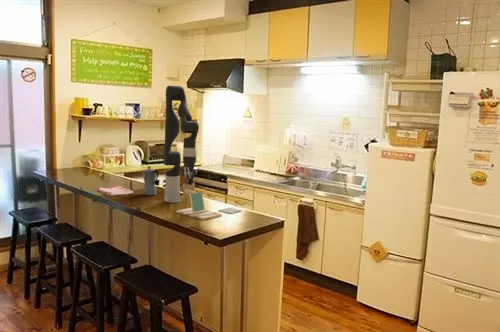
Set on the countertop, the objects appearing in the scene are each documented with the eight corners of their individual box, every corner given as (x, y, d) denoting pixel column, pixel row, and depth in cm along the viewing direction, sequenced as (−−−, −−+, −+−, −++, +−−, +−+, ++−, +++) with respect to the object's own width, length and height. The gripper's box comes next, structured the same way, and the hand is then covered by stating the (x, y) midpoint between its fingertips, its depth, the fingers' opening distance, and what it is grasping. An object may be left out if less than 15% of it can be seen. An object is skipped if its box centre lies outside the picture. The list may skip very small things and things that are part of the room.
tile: (189, 193, 243) (190, 193, 242) (200, 191, 250) (201, 191, 249) (192, 212, 242) (193, 212, 242) (203, 210, 249) (204, 209, 249)
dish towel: (119, 189, 315) (119, 184, 315) (134, 194, 298) (134, 189, 298) (97, 191, 304) (97, 186, 303) (111, 197, 287) (110, 192, 286)
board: (175, 212, 248) (175, 210, 248) (193, 208, 259) (193, 206, 259) (204, 220, 233) (204, 218, 233) (221, 216, 244) (221, 213, 243)
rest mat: (218, 211, 255) (218, 210, 255) (229, 208, 263) (229, 207, 263) (230, 214, 249) (230, 213, 249) (241, 211, 256) (241, 210, 256)
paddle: (182, 195, 248) (183, 175, 246) (191, 194, 253) (191, 174, 252) (185, 196, 246) (186, 176, 245) (194, 194, 252) (194, 174, 250)
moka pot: (147, 192, 304) (147, 164, 302) (163, 194, 297) (163, 166, 294) (137, 194, 296) (137, 166, 294) (154, 197, 288) (154, 168, 286)
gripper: (176, 154, 248) (176, 183, 250) (192, 156, 239) (192, 186, 242) (186, 153, 254) (185, 182, 256) (202, 156, 245) (201, 185, 247)
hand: (189, 184), depth 249 cm, fingers closed on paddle, 2 cm apart
